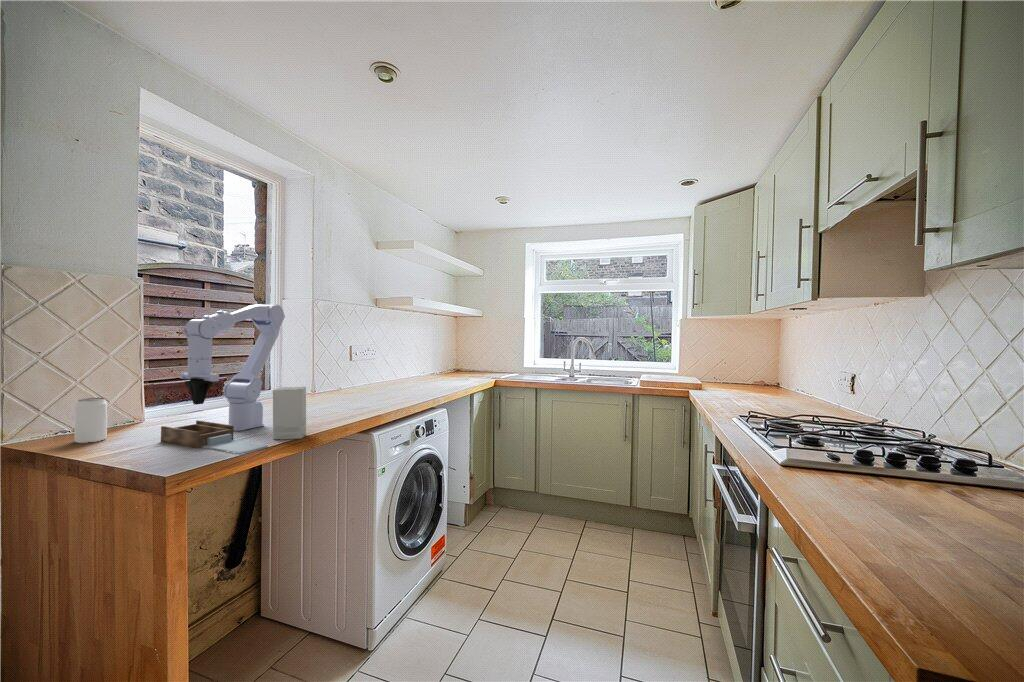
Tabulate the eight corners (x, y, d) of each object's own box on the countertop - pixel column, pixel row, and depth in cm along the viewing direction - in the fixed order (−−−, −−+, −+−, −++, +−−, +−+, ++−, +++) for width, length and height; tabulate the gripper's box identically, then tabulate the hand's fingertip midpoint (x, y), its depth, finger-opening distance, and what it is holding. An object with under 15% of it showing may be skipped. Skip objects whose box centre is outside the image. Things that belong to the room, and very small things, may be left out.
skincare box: (306, 434, 133) (307, 386, 132) (301, 439, 126) (302, 389, 126) (277, 435, 131) (279, 386, 130) (270, 440, 124) (272, 388, 124)
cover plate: (202, 449, 114) (202, 438, 114) (231, 442, 122) (231, 432, 122) (239, 456, 109) (240, 445, 109) (267, 449, 117) (268, 438, 117)
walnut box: (160, 441, 119) (161, 426, 119) (197, 434, 128) (197, 420, 128) (197, 448, 113) (198, 432, 113) (233, 440, 123) (233, 425, 123)
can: (68, 442, 115) (69, 399, 115) (97, 437, 121) (98, 396, 121) (84, 444, 113) (85, 401, 113) (112, 439, 120) (113, 398, 120)
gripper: (169, 358, 122) (167, 403, 122) (202, 360, 117) (200, 407, 117) (194, 357, 129) (193, 400, 129) (226, 359, 124) (225, 404, 124)
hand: (198, 403), depth 124 cm, fingers closed
